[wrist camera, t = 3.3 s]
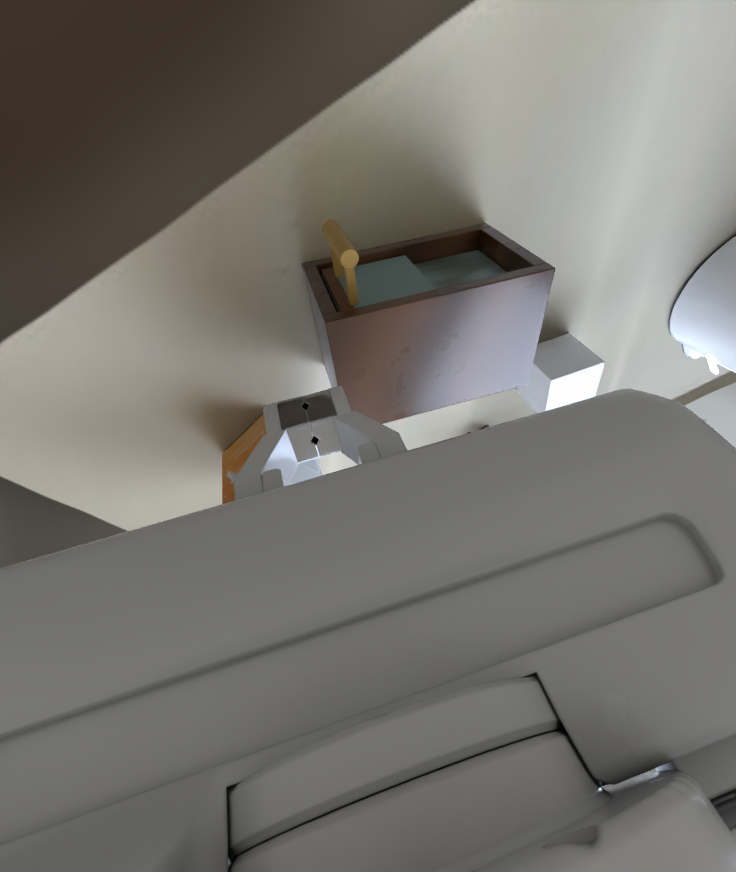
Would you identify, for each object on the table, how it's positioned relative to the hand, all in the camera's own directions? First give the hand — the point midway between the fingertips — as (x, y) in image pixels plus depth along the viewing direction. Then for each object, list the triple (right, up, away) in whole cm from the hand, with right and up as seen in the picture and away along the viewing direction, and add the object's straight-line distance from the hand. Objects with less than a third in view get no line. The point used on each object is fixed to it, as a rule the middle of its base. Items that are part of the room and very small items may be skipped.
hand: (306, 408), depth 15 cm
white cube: (+23, +8, +32) cm, 40 cm away
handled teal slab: (+2, +14, +16) cm, 21 cm away
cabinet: (+5, +11, +21) cm, 25 cm away
